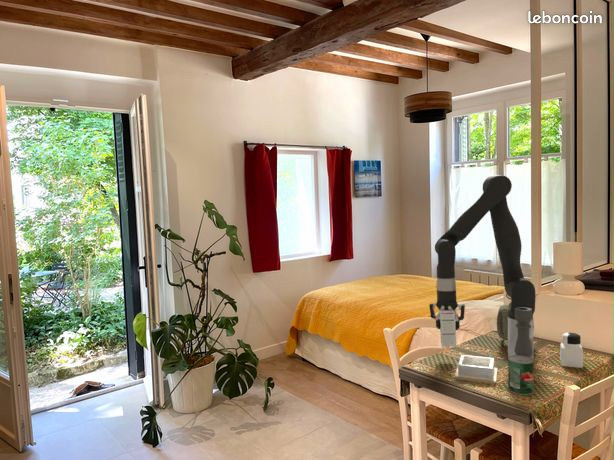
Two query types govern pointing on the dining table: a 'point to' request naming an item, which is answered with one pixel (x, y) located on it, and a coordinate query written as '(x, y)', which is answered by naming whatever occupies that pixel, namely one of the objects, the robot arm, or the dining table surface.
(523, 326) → the candle holder
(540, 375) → the dining table surface
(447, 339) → the syrup box
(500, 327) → the tabletop clock
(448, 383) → the dining table surface
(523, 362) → the canned tomato
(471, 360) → the rectangular hollow frame
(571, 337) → the medicine bottle
